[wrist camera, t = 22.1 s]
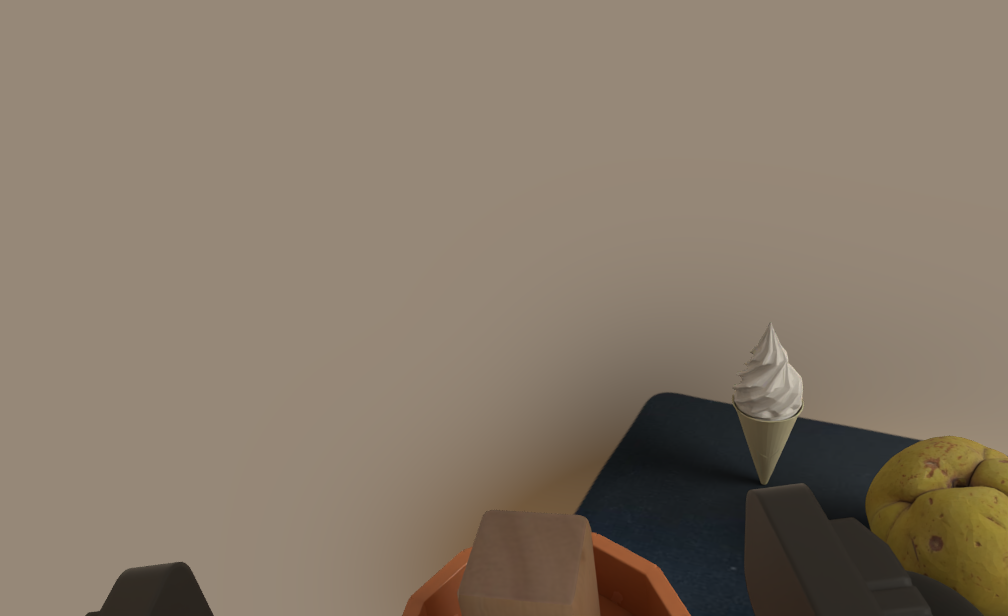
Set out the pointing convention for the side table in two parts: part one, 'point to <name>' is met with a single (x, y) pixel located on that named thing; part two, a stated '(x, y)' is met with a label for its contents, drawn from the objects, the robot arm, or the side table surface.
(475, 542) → the wooden block
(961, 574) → the fruit
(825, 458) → the side table surface
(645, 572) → the pan
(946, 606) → the decorative ball
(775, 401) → the ice cream cone
